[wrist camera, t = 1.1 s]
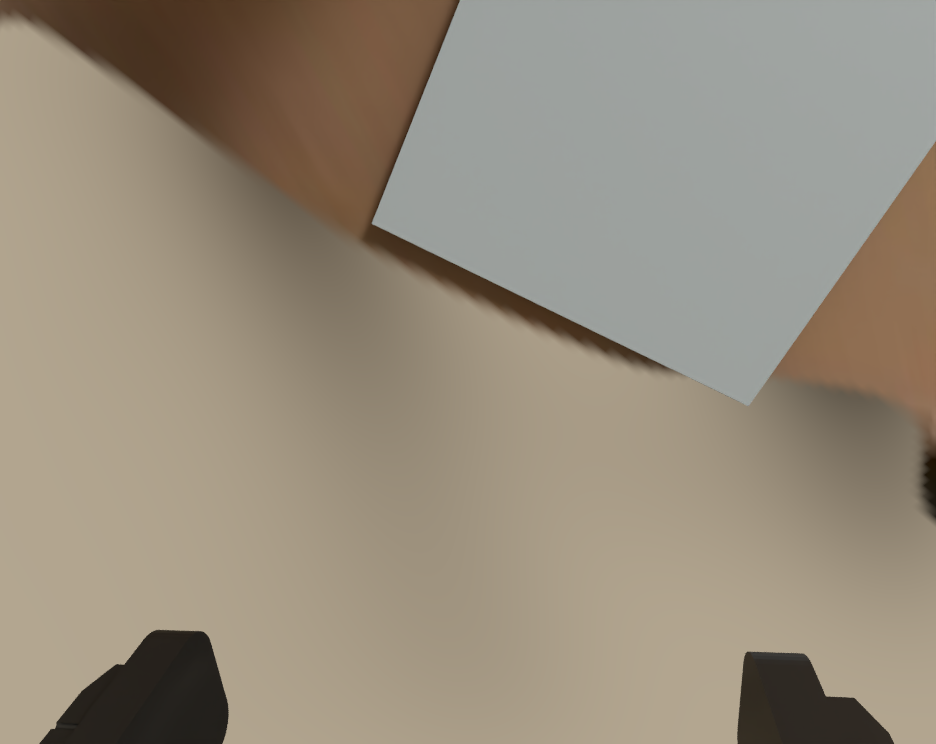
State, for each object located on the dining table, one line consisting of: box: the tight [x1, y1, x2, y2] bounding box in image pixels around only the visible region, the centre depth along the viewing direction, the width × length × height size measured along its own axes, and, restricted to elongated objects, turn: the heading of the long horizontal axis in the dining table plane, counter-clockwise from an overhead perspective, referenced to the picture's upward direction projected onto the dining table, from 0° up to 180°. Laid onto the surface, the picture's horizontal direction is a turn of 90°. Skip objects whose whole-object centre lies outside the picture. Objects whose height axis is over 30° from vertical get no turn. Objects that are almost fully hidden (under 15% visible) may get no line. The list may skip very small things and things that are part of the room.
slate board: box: [372, 0, 936, 406], centre depth 29 cm, size 20×20×1 cm
